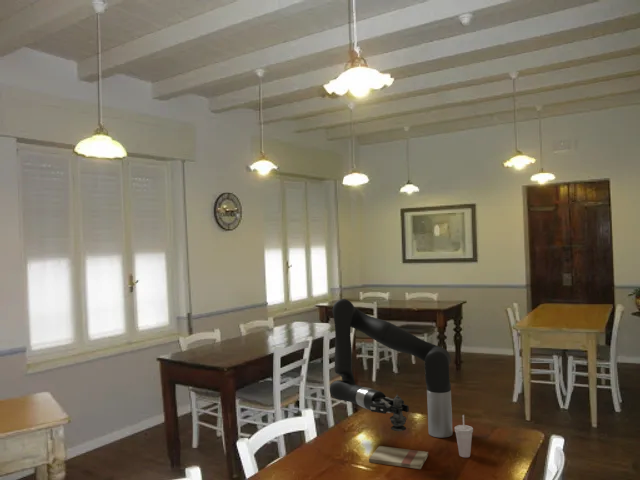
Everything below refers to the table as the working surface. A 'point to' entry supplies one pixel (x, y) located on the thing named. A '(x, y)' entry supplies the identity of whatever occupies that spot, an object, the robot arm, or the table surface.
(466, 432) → the smoothie
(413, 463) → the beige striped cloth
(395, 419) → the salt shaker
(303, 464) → the table surface
